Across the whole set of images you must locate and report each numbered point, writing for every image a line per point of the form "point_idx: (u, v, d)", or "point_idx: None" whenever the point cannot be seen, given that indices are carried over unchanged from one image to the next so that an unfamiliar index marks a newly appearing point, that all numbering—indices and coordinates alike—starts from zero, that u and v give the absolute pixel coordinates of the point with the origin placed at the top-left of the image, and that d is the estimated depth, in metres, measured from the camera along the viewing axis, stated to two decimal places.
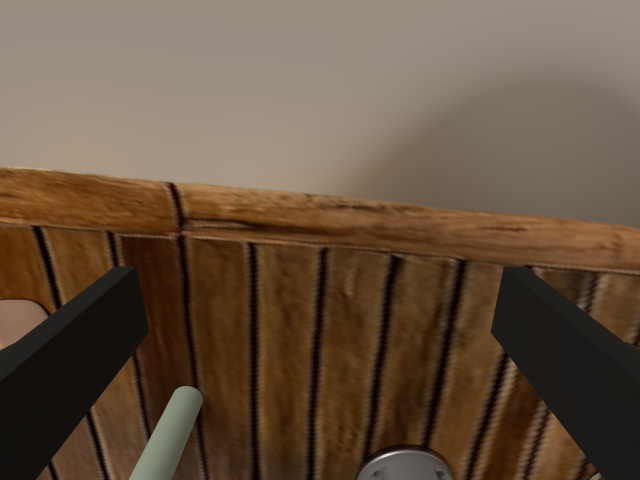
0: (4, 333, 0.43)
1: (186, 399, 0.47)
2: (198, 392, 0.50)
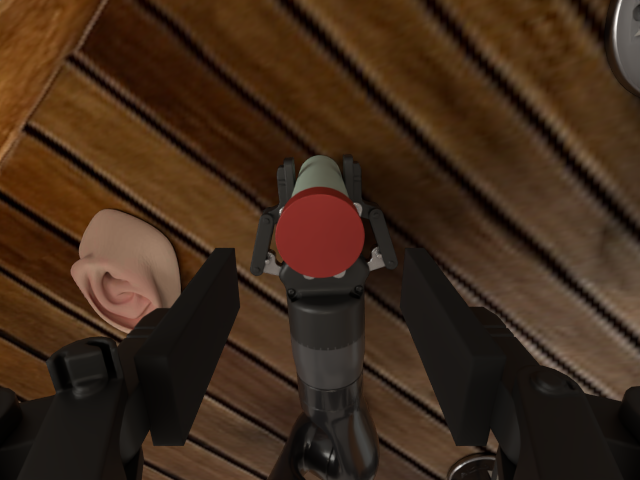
0: (104, 254, 0.37)
1: (309, 160, 0.34)
2: (321, 155, 0.35)
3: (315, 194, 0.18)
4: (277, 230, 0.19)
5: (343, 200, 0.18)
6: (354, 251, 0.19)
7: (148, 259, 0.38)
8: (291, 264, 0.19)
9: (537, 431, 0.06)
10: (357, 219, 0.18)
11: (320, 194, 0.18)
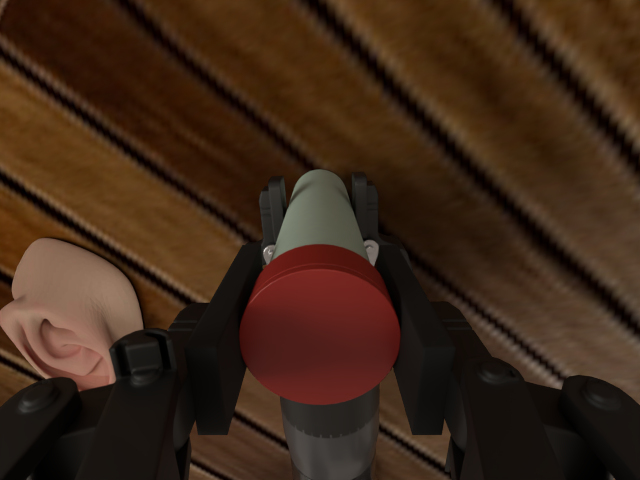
0: (39, 298, 0.28)
1: (305, 178, 0.25)
2: (321, 170, 0.27)
3: (311, 269, 0.10)
4: (241, 330, 0.10)
5: (363, 279, 0.10)
6: (381, 364, 0.11)
7: (99, 302, 0.29)
8: (269, 384, 0.11)
9: (481, 420, 0.06)
10: (389, 312, 0.10)
11: (320, 269, 0.10)
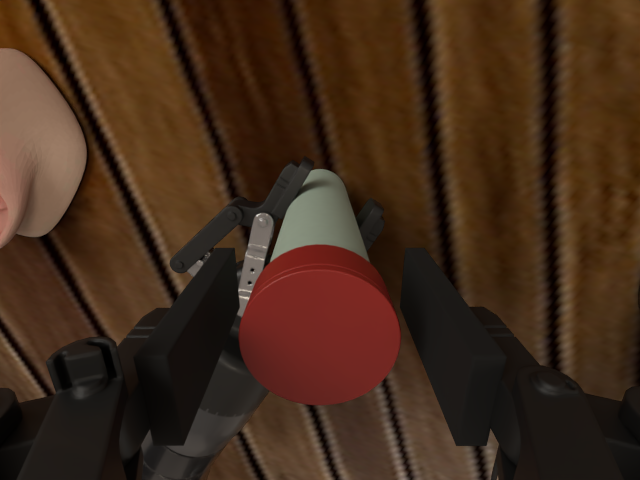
0: None
1: (322, 174, 0.25)
2: (336, 175, 0.27)
3: (249, 303, 0.10)
4: (263, 383, 0.11)
5: (289, 273, 0.10)
6: (382, 314, 0.10)
7: (40, 154, 0.25)
8: (326, 401, 0.11)
9: (537, 431, 0.06)
10: (335, 276, 0.10)
11: (254, 297, 0.10)
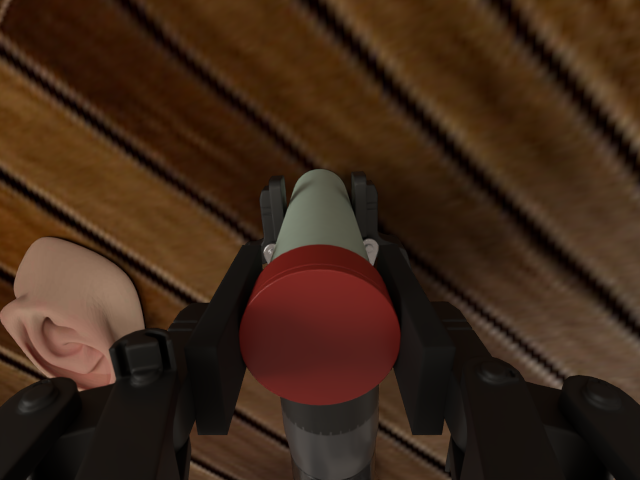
0: (41, 296, 0.28)
1: (305, 177, 0.25)
2: (321, 169, 0.27)
3: None
4: (301, 401, 0.11)
5: (251, 300, 0.10)
6: (352, 288, 0.10)
7: (100, 301, 0.30)
8: (365, 388, 0.11)
9: (481, 420, 0.06)
10: (287, 280, 0.10)
11: (239, 336, 0.10)
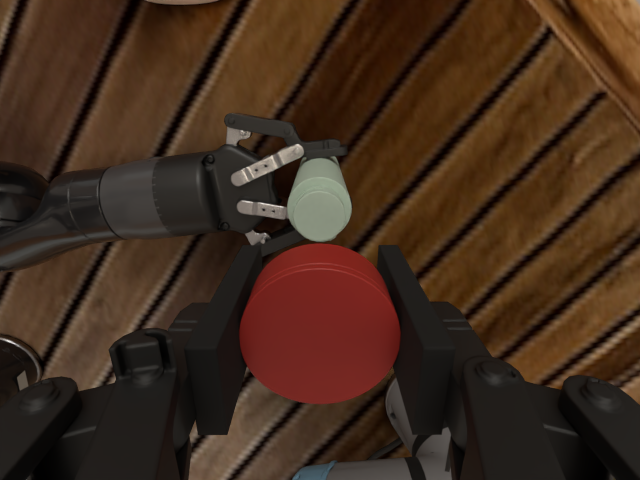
0: None
1: (336, 160, 0.36)
2: None
3: None
4: (301, 400, 0.11)
5: (251, 300, 0.10)
6: (352, 287, 0.10)
7: None
8: (365, 387, 0.11)
9: (481, 420, 0.06)
10: (287, 279, 0.10)
11: (239, 335, 0.10)
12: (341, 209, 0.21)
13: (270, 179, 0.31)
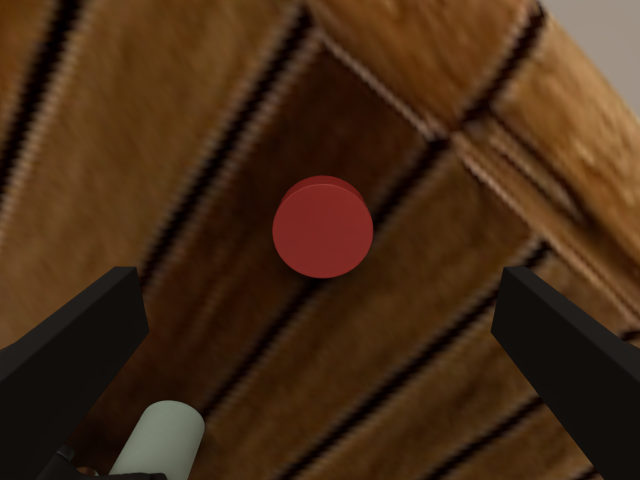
0: None
1: (185, 442, 0.21)
2: (203, 427, 0.24)
3: (273, 234, 0.17)
4: (310, 275, 0.17)
5: (280, 205, 0.16)
6: (342, 196, 0.16)
7: None
8: (351, 265, 0.17)
9: None
10: (303, 191, 0.16)
11: (273, 229, 0.17)
12: None
13: None
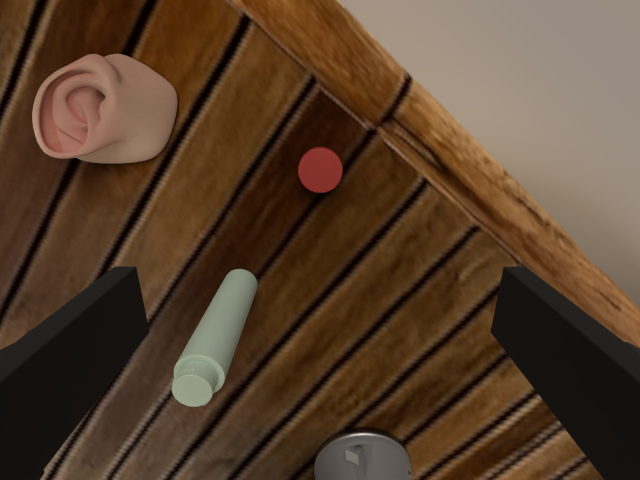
0: (125, 97, 0.35)
1: (250, 284, 0.42)
2: None
3: (298, 171, 0.38)
4: (315, 191, 0.39)
5: (302, 158, 0.37)
6: (328, 153, 0.37)
7: (130, 140, 0.37)
8: (333, 186, 0.38)
9: None
10: (311, 151, 0.37)
11: (298, 169, 0.38)
12: (208, 386, 0.28)
13: None
